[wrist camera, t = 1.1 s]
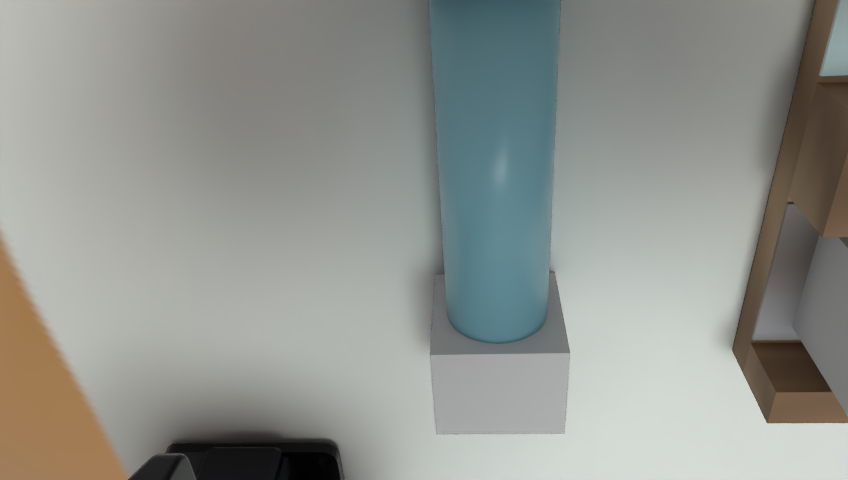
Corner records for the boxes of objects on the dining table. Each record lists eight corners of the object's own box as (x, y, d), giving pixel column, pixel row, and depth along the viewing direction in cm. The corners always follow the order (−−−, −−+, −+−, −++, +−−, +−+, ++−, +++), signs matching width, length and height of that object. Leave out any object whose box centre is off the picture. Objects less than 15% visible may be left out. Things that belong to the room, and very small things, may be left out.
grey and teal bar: (550, 346, 22) (564, 433, 19) (440, 348, 22) (435, 434, 19) (577, -205, 14) (608, -205, 11) (403, -192, 14) (386, -188, 11)
